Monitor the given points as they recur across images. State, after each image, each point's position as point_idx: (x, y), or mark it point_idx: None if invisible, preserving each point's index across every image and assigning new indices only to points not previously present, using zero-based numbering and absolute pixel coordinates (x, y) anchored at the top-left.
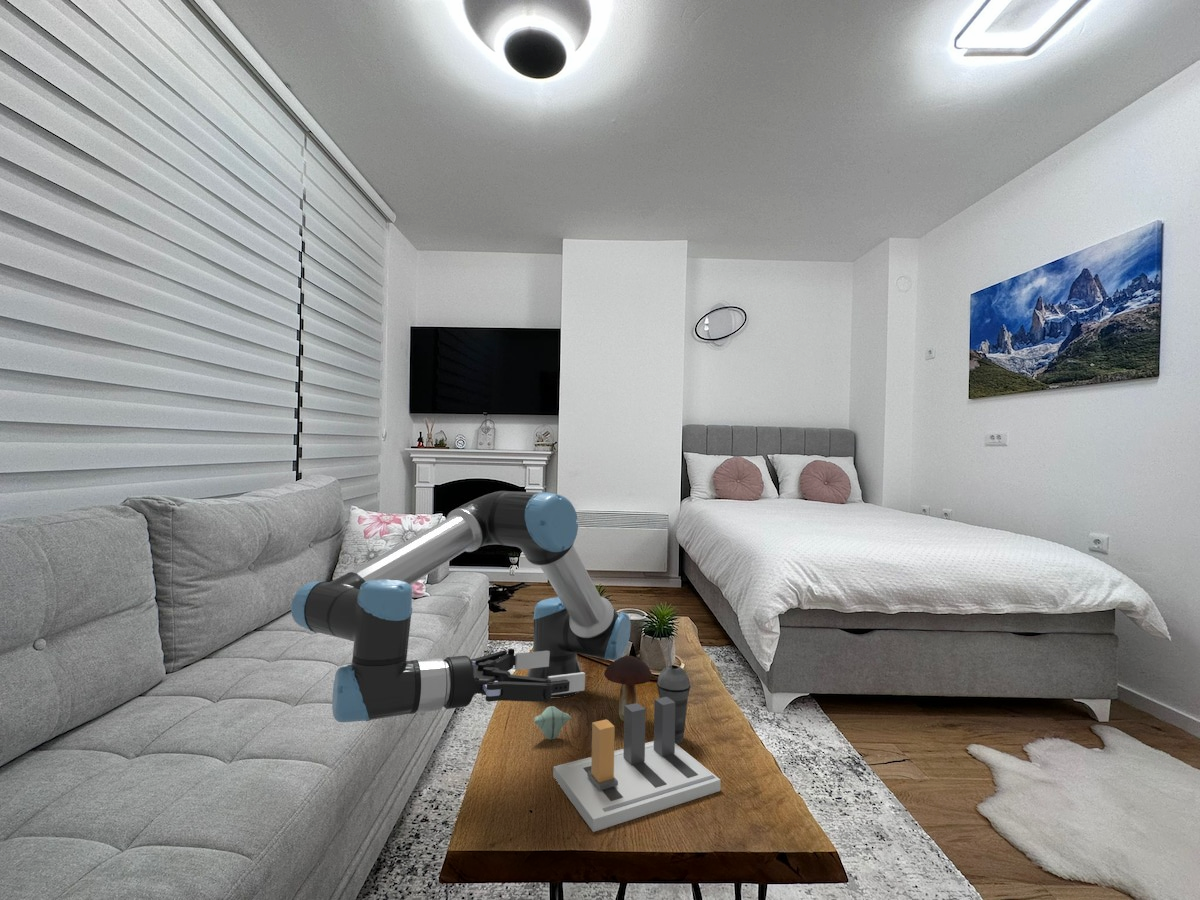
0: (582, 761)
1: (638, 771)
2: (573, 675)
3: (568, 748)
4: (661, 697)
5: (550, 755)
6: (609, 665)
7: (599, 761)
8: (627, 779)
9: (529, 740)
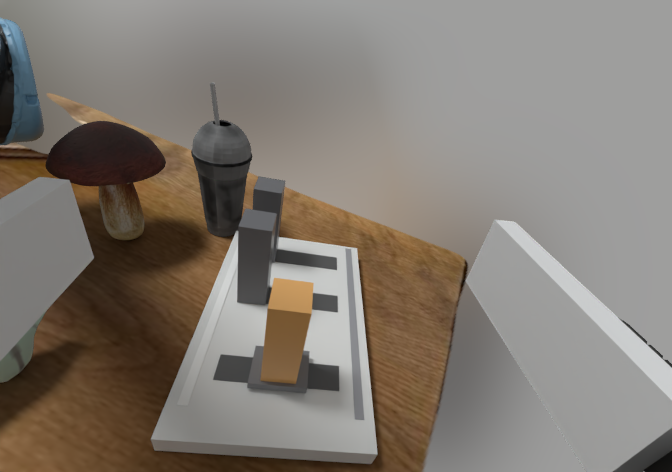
0: (191, 368)
1: None
2: (555, 264)
3: (90, 358)
4: (215, 180)
5: (69, 410)
6: (59, 154)
7: (301, 358)
8: None
9: None
